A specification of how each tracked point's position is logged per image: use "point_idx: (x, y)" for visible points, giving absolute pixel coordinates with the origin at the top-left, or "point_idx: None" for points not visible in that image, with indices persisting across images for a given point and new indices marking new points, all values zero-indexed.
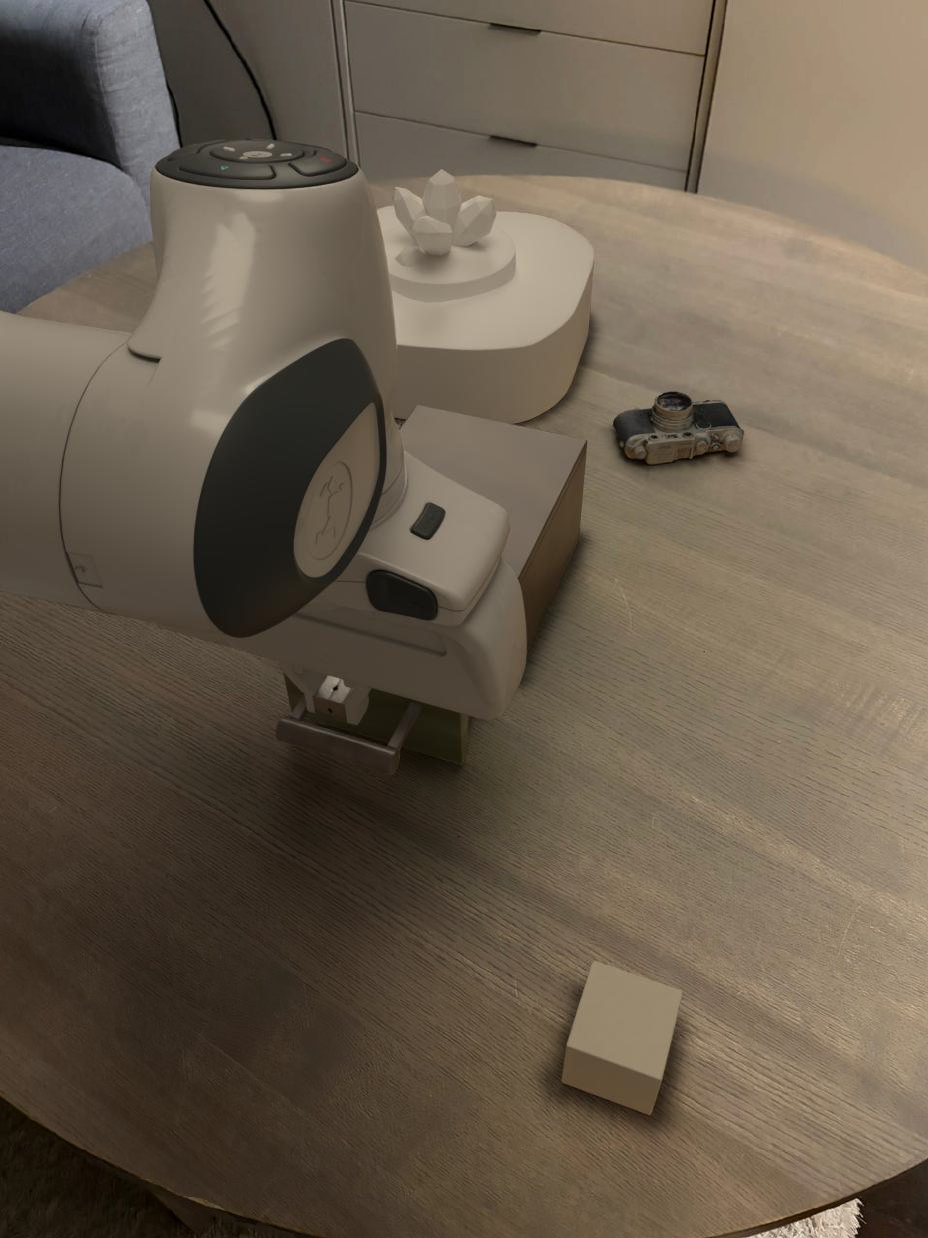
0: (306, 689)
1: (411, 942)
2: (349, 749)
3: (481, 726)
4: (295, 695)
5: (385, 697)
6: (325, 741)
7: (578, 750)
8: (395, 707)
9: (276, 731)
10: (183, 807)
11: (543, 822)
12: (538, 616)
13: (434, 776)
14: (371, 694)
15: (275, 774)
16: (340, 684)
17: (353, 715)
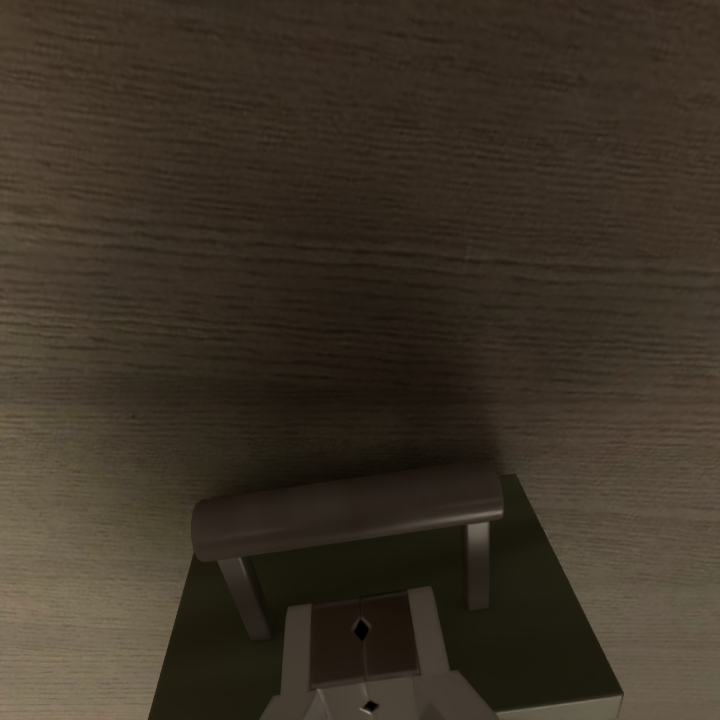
0: (440, 699)
1: (38, 206)
2: (302, 522)
3: None
4: (519, 519)
5: None
6: (368, 514)
7: (94, 589)
8: (311, 596)
9: (497, 483)
10: (620, 237)
11: (43, 490)
12: None
13: (243, 479)
14: None
15: (486, 371)
16: (365, 718)
17: (285, 651)
